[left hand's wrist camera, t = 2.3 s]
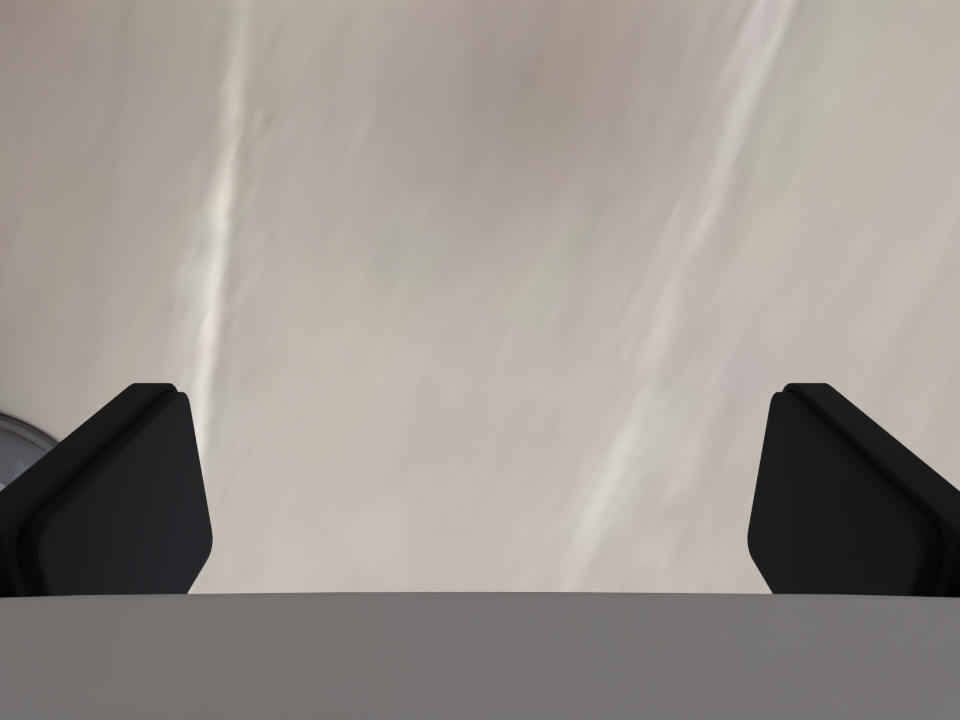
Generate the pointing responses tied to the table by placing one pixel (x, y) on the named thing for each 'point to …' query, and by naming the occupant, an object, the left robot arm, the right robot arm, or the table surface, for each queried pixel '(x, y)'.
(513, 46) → the table surface
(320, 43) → the table surface
